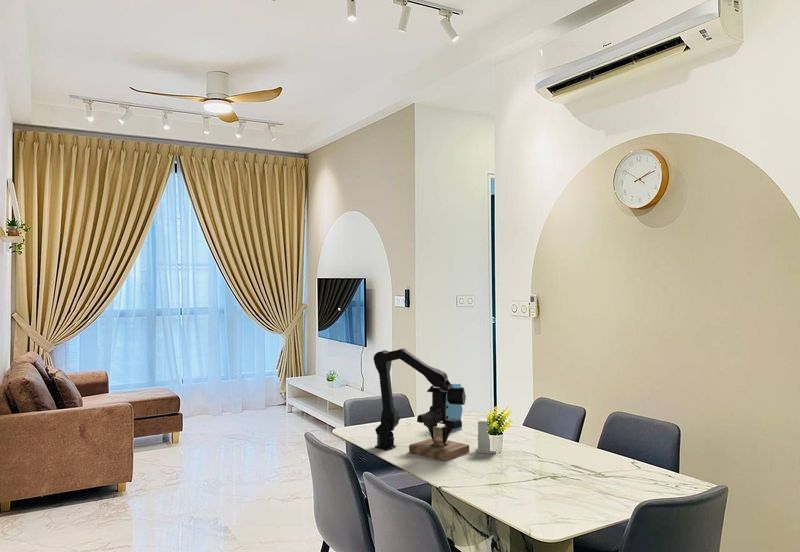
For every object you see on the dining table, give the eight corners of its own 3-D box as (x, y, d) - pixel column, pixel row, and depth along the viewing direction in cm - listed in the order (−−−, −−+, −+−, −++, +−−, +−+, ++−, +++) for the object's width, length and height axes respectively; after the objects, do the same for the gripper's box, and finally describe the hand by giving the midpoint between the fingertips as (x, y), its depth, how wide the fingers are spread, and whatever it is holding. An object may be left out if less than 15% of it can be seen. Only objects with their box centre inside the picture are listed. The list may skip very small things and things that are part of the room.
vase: (462, 430, 279) (462, 386, 279) (445, 430, 279) (445, 386, 279) (460, 426, 287) (461, 383, 287) (444, 426, 287) (444, 383, 287)
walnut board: (409, 452, 242) (409, 444, 242) (433, 444, 254) (433, 437, 254) (445, 461, 230) (445, 453, 230) (469, 452, 242) (469, 444, 242)
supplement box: (496, 453, 240) (496, 421, 241) (477, 452, 242) (477, 421, 242) (497, 448, 248) (497, 417, 248) (478, 447, 249) (478, 417, 249)
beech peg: (430, 447, 242) (430, 427, 242) (437, 445, 245) (438, 425, 246) (440, 450, 239) (440, 429, 239) (447, 447, 242) (447, 427, 242)
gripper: (408, 403, 242) (408, 442, 242) (445, 409, 230) (445, 451, 230) (425, 399, 251) (425, 437, 251) (462, 405, 238) (462, 445, 238)
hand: (439, 442), depth 242 cm, fingers closed on beech peg, 5 cm apart
